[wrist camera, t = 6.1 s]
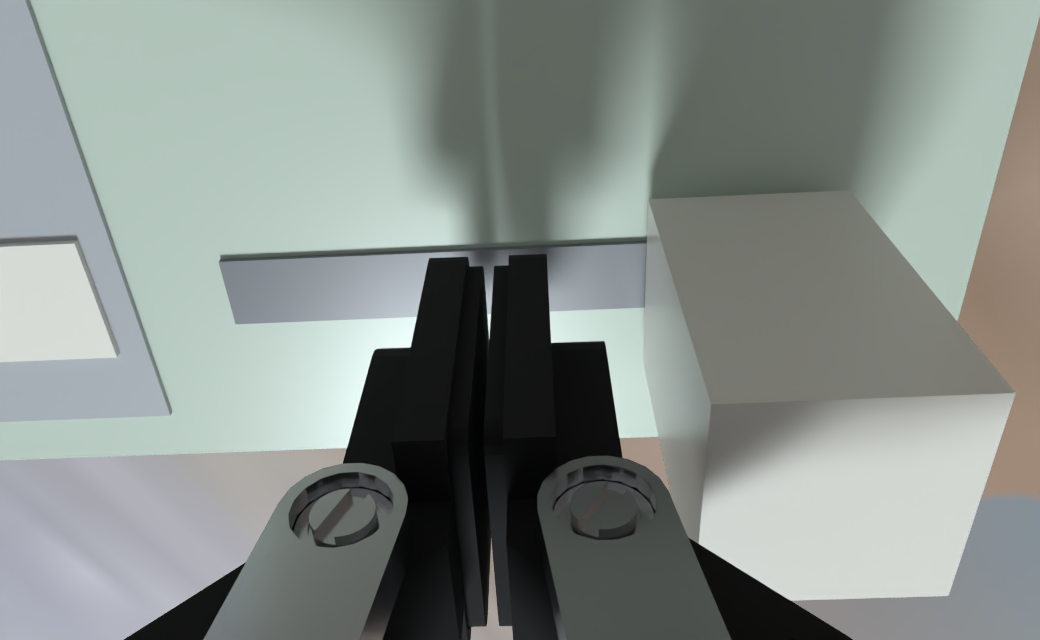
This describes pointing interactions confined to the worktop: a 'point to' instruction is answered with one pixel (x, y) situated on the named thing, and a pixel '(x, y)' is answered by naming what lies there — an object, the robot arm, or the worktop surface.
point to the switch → (813, 396)
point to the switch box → (429, 182)
